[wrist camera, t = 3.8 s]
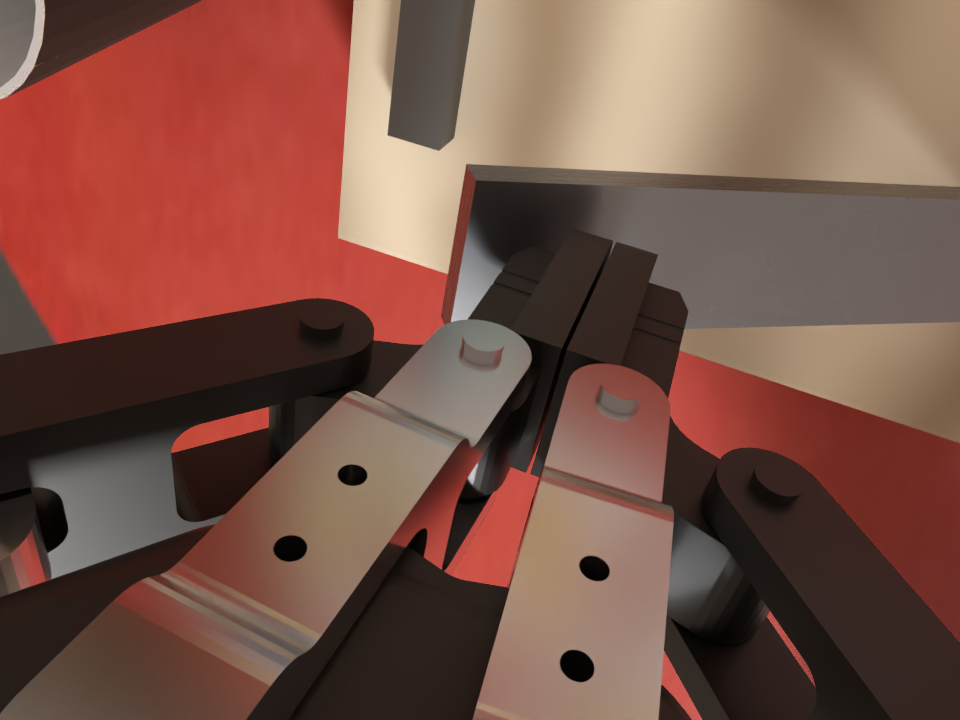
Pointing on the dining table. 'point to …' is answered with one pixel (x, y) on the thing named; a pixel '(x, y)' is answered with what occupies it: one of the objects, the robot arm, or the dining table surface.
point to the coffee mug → (67, 33)
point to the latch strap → (727, 242)
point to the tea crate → (668, 137)
